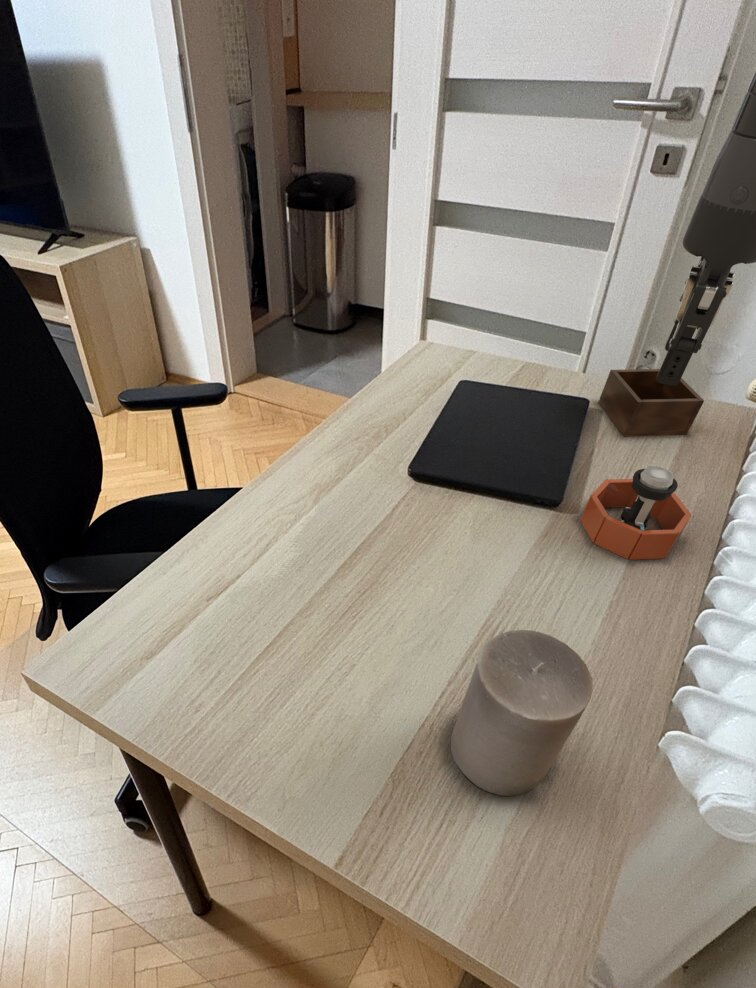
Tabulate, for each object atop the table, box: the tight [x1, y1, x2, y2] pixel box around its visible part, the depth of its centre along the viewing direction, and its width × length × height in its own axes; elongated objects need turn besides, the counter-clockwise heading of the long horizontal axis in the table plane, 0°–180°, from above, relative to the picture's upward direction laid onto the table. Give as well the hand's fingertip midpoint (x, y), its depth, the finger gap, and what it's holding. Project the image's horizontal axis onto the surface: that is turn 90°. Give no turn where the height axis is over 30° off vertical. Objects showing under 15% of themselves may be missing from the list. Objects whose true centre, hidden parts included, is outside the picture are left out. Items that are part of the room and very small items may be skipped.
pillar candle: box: [450, 629, 594, 797], centre depth 57 cm, size 10×10×15 cm
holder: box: [597, 368, 705, 437], centre depth 105 cm, size 11×11×6 cm
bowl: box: [580, 478, 693, 561], centre depth 85 cm, size 12×12×4 cm
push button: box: [619, 465, 679, 531], centre depth 83 cm, size 7×5×10 cm
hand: (670, 366), depth 68 cm, fingers open, 8 cm apart
